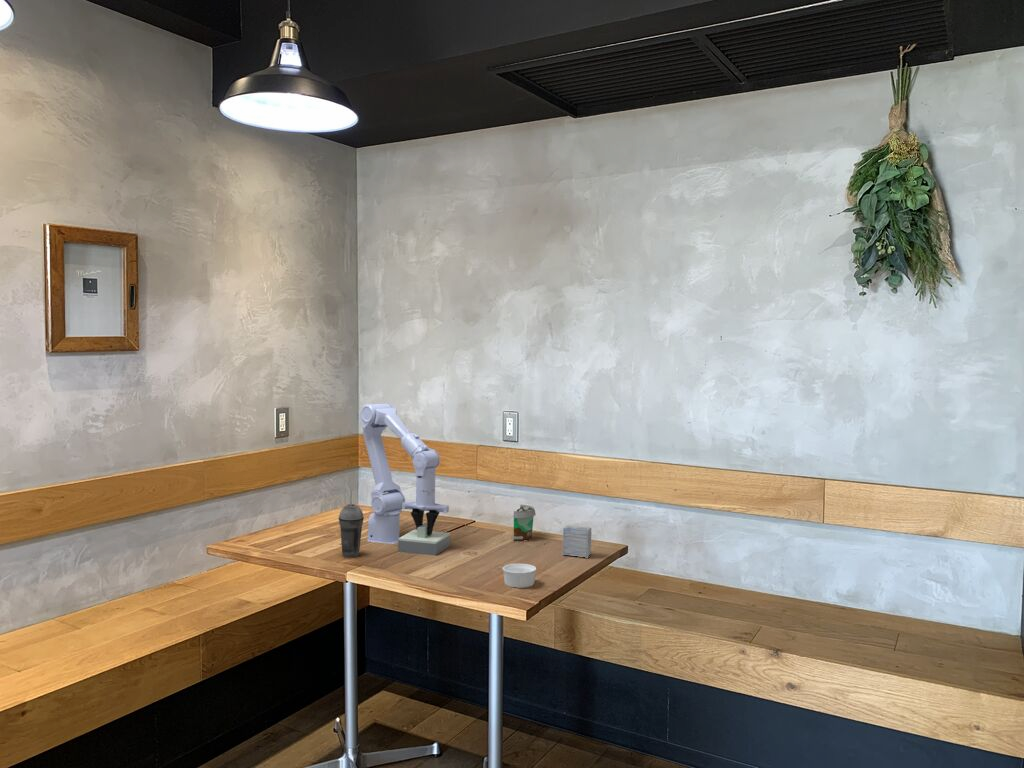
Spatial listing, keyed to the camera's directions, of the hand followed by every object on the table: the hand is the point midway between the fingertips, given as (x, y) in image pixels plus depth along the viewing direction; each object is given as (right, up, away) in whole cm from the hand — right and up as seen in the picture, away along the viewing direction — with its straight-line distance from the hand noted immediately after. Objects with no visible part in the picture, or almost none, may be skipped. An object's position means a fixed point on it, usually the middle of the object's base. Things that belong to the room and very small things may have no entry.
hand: (424, 534), depth 234 cm
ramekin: (+28, -7, -31) cm, 43 cm away
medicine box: (+46, -7, -1) cm, 47 cm away
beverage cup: (-21, -5, -10) cm, 23 cm away
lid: (0, -1, 0) cm, 1 cm away
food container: (+31, -5, +18) cm, 36 cm away
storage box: (0, -5, 0) cm, 5 cm away
